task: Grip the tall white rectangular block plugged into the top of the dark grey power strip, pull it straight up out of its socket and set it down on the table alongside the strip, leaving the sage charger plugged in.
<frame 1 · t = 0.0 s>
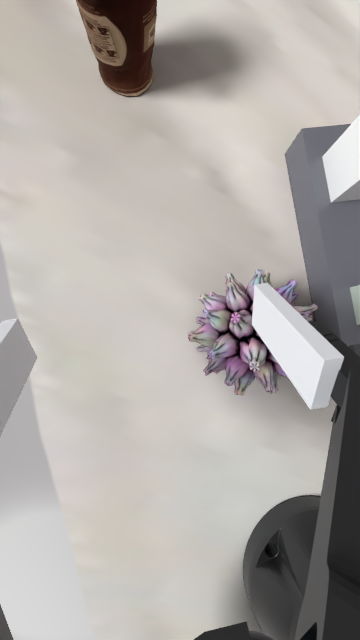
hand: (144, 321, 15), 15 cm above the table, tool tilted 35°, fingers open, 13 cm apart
flower: (233, 333, 31), on the table
power strip: (332, 243, 33), on the table
white rectangular block: (346, 177, 29), point 4 cm above the table, touching power strip
coffee cup: (126, 75, 32), on the table
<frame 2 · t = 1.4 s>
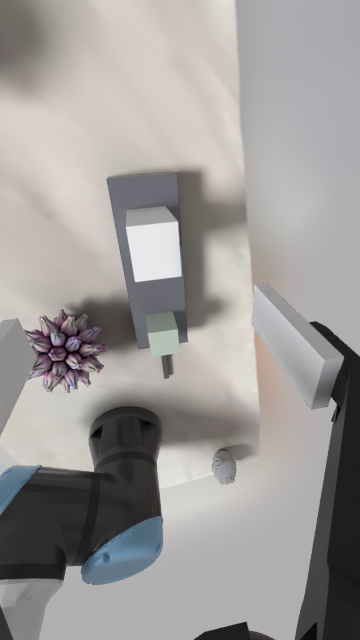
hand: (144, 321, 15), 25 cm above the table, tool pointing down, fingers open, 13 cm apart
sage charger: (160, 324, 40), resting on power strip
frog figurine: (219, 452, 67), on the table
flower: (73, 328, 43), on the table
power strip: (152, 265, 40), on the table
white rectangular block: (148, 230, 33), point 4 cm above the table, touching power strip
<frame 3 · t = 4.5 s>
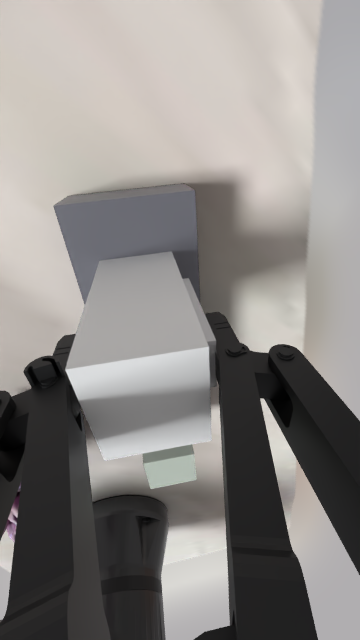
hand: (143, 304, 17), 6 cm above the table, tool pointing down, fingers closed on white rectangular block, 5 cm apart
sage charger: (165, 420, 26), resting on power strip
flower: (34, 416, 29), on the table
power strip: (151, 330, 25), on the table
white rectangular block: (142, 292, 18), point 4 cm above the table, touching gripper, power strip
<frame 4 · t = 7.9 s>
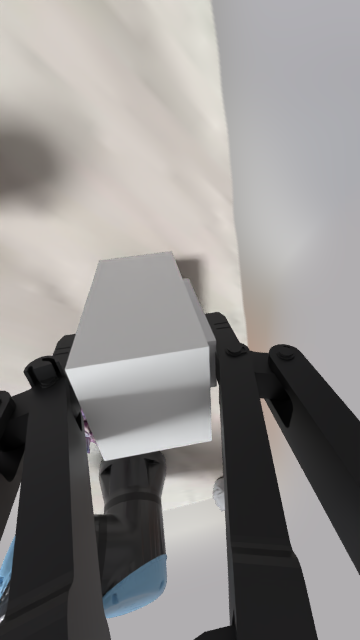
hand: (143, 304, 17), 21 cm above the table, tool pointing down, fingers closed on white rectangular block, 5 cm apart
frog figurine: (220, 479, 72), on the table
white rectangular block: (142, 292, 18), point 19 cm above the table, touching gripper
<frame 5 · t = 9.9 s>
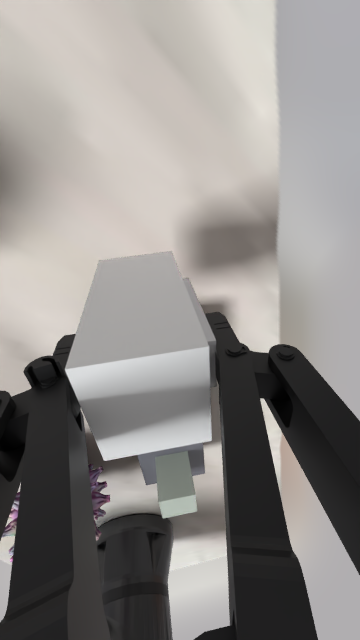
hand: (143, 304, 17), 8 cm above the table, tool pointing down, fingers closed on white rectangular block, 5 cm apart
sage charger: (172, 462, 34), resting on power strip
flower: (69, 456, 36), on the table
power strip: (162, 395, 33), on the table
white rectangular block: (142, 292, 18), point 6 cm above the table, touching gripper
when the fingers open (3 cm above the table, at t = 11.6 s): white rectangular block stays where it is, point 1 cm above the table.
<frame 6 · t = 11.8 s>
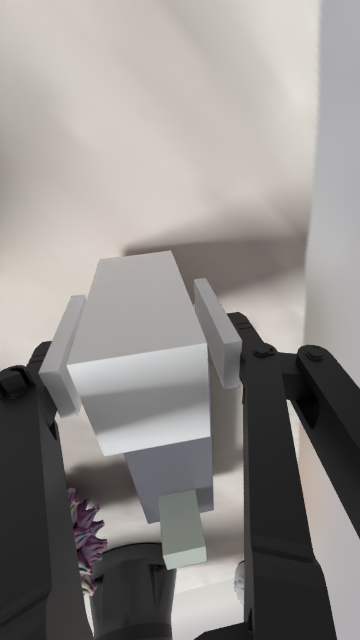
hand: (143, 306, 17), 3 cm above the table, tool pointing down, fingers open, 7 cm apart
sage charger: (178, 501, 30), resting on power strip
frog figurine: (242, 561, 57), on the table
flower: (62, 490, 33), on the table
power strip: (166, 426, 29), on the table
white rectangular block: (142, 291, 18), point 1 cm above the table
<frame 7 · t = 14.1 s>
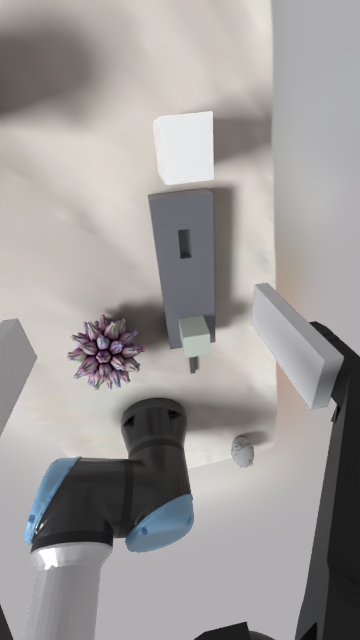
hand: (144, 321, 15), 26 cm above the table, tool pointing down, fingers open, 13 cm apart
sage charger: (191, 327, 44), resting on power strip
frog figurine: (238, 438, 73), on the table
flower: (110, 329, 47), on the table
power strip: (184, 273, 43), on the table
white rectangular block: (174, 147, 32), point 1 cm above the table
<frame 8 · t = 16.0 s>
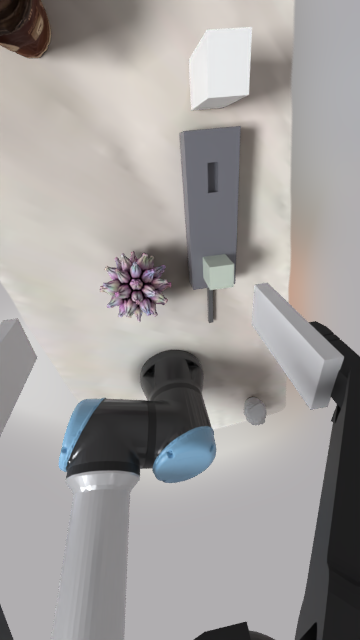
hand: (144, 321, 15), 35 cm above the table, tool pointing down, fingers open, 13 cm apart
sage charger: (214, 266, 47), resting on power strip
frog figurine: (249, 399, 75), on the table
flower: (136, 273, 50), on the table
power strip: (207, 214, 46), on the table
white rectangular block: (206, 84, 36), point 1 cm above the table
coffee cup: (22, 24, 32), on the table
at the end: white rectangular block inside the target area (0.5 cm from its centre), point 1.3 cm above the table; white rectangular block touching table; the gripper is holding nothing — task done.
